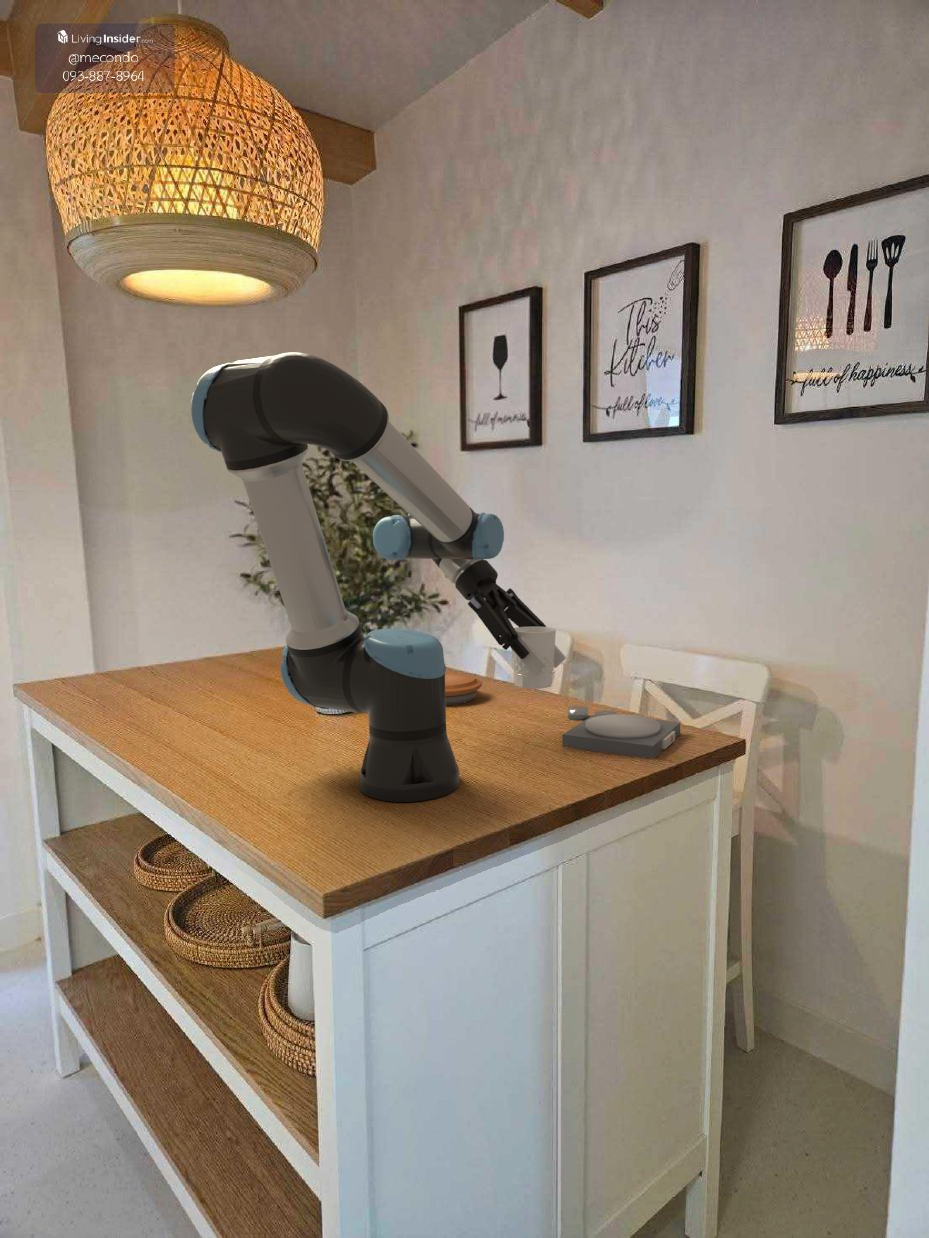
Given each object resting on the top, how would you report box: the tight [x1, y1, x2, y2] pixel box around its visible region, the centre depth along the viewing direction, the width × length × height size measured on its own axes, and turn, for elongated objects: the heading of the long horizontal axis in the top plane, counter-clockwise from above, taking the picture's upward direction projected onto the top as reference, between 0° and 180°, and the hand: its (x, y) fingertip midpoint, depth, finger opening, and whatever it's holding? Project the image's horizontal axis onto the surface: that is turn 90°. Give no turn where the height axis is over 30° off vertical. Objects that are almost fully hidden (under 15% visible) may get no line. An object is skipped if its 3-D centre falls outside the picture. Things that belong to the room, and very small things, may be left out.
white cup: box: [511, 626, 557, 690], centre depth 143 cm, size 8×8×10 cm
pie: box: [445, 672, 483, 706], centre depth 178 cm, size 15×16×5 cm
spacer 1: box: [567, 705, 589, 722], centre depth 160 cm, size 4×4×2 cm
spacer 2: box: [594, 710, 617, 715], centre depth 156 cm, size 4×4×2 cm
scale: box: [562, 713, 681, 760], centre depth 144 cm, size 16×17×3 cm
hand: (550, 666), depth 142 cm, fingers closed on white cup, 8 cm apart
